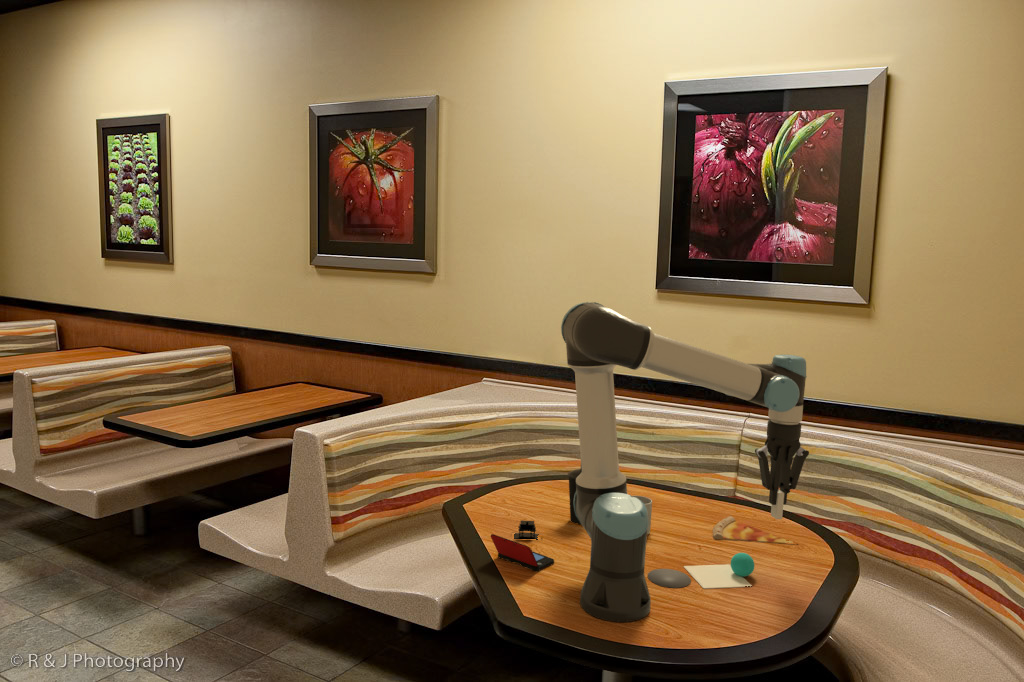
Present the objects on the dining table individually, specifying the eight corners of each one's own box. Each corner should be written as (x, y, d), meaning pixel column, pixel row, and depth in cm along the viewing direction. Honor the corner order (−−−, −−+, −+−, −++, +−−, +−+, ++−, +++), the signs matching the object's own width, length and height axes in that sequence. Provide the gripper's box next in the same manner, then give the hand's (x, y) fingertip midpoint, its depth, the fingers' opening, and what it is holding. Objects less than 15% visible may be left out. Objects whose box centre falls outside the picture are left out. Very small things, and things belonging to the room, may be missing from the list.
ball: (762, 563, 184) (751, 584, 184) (752, 554, 189) (740, 574, 189) (744, 554, 183) (732, 574, 183) (733, 545, 188) (722, 565, 188)
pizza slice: (765, 560, 197) (765, 553, 197) (693, 533, 214) (694, 526, 214) (798, 546, 207) (798, 539, 207) (727, 521, 224) (728, 514, 224)
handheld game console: (556, 564, 190) (557, 534, 189) (528, 577, 181) (529, 547, 180) (516, 549, 198) (517, 521, 196) (488, 562, 189) (489, 532, 188)
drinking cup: (570, 527, 213) (574, 456, 211) (561, 517, 221) (565, 448, 218) (596, 525, 216) (600, 455, 213) (586, 515, 223) (590, 447, 220)
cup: (645, 526, 216) (647, 495, 215) (657, 540, 206) (659, 507, 205) (620, 526, 215) (622, 495, 214) (630, 540, 205) (632, 508, 204)
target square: (703, 588, 178) (703, 588, 178) (683, 566, 190) (683, 566, 190) (752, 586, 180) (752, 585, 180) (729, 565, 192) (729, 564, 192)
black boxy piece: (502, 543, 202) (503, 526, 201) (503, 532, 209) (504, 516, 209) (550, 545, 202) (551, 528, 201) (549, 534, 209) (550, 518, 209)
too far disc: (656, 588, 177) (656, 588, 177) (641, 570, 187) (641, 569, 187) (697, 587, 179) (697, 586, 179) (681, 568, 189) (681, 567, 189)
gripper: (801, 417, 187) (793, 511, 190) (751, 417, 185) (743, 512, 188) (818, 424, 180) (809, 522, 183) (766, 424, 178) (758, 523, 181)
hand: (776, 517), depth 186 cm, fingers closed
